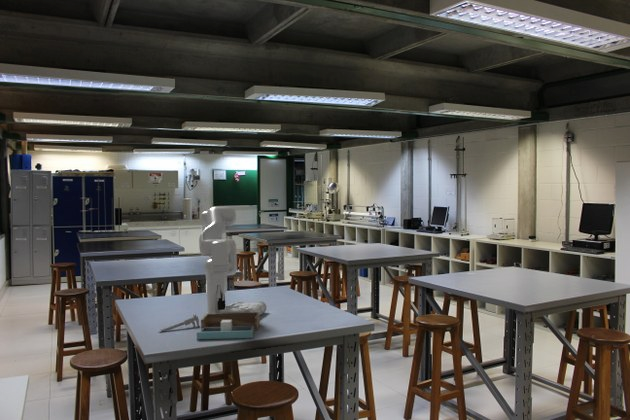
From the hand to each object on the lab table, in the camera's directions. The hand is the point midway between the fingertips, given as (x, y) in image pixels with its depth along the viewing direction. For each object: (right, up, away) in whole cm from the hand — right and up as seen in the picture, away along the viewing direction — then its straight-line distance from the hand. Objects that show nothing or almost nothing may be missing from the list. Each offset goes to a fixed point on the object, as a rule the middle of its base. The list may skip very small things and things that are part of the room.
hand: (221, 309), depth 224 cm
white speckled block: (0, -14, +12) cm, 18 cm away
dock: (0, -14, +25) cm, 29 cm away
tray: (0, -15, +12) cm, 19 cm away
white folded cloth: (+4, -14, +49) cm, 51 cm away
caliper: (-26, -16, +25) cm, 39 cm away
